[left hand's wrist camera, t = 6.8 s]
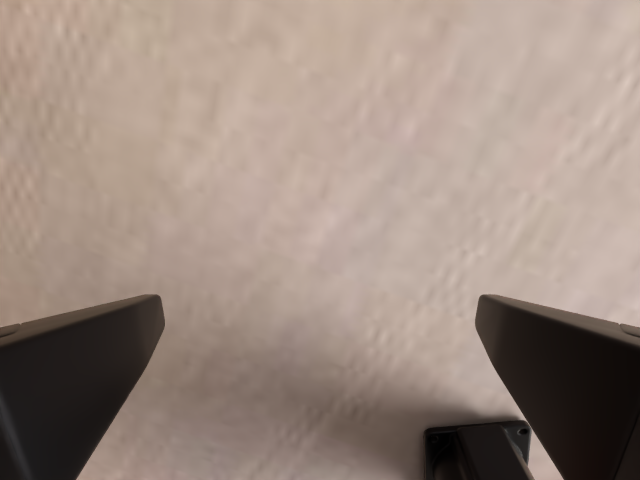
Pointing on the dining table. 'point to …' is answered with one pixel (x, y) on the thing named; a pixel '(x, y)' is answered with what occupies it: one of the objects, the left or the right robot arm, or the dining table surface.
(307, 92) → the dining table surface
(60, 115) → the dining table surface
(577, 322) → the left robot arm
